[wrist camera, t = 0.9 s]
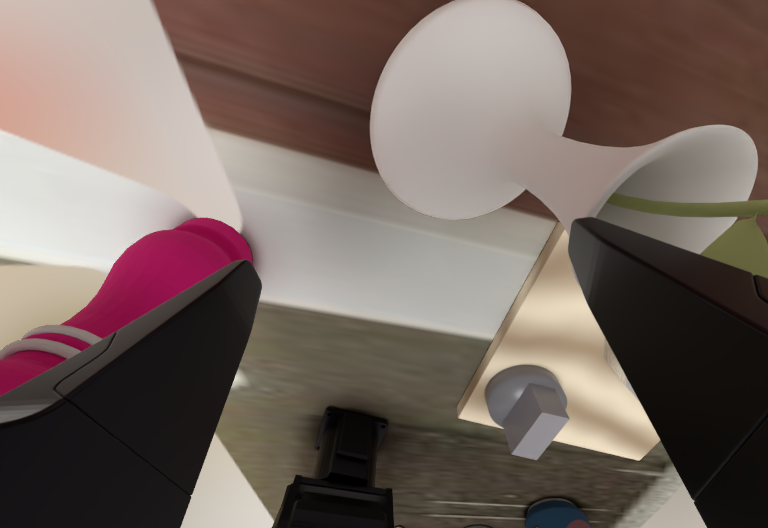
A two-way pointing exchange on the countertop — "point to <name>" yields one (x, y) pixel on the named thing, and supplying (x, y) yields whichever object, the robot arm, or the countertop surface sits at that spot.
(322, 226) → the countertop surface
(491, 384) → the cap
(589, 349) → the board
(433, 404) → the countertop surface
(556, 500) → the soda can
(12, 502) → the robot arm
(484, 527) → the sundae
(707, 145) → the flower in vase
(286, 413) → the countertop surface
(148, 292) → the pepper mill
